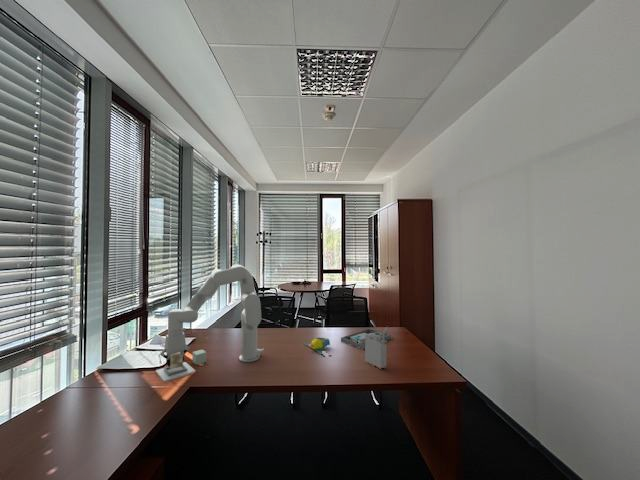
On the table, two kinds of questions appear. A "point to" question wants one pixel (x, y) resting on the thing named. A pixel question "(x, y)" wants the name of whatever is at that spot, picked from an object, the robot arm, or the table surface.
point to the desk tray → (346, 338)
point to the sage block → (199, 356)
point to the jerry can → (375, 349)
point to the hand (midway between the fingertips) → (175, 363)
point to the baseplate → (174, 372)
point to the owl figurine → (318, 344)
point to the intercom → (361, 337)
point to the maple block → (176, 360)
